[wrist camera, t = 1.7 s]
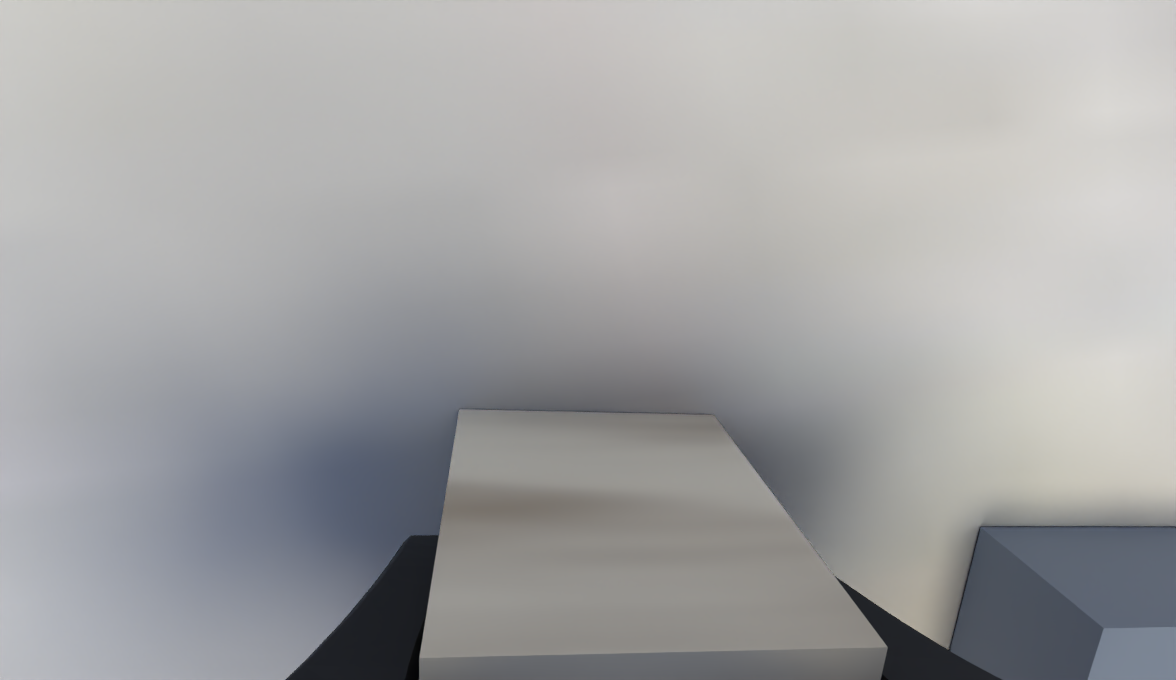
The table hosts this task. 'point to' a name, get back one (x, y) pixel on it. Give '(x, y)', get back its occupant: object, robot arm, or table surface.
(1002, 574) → the socket block
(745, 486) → the square peg
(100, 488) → the table surface
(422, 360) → the table surface
